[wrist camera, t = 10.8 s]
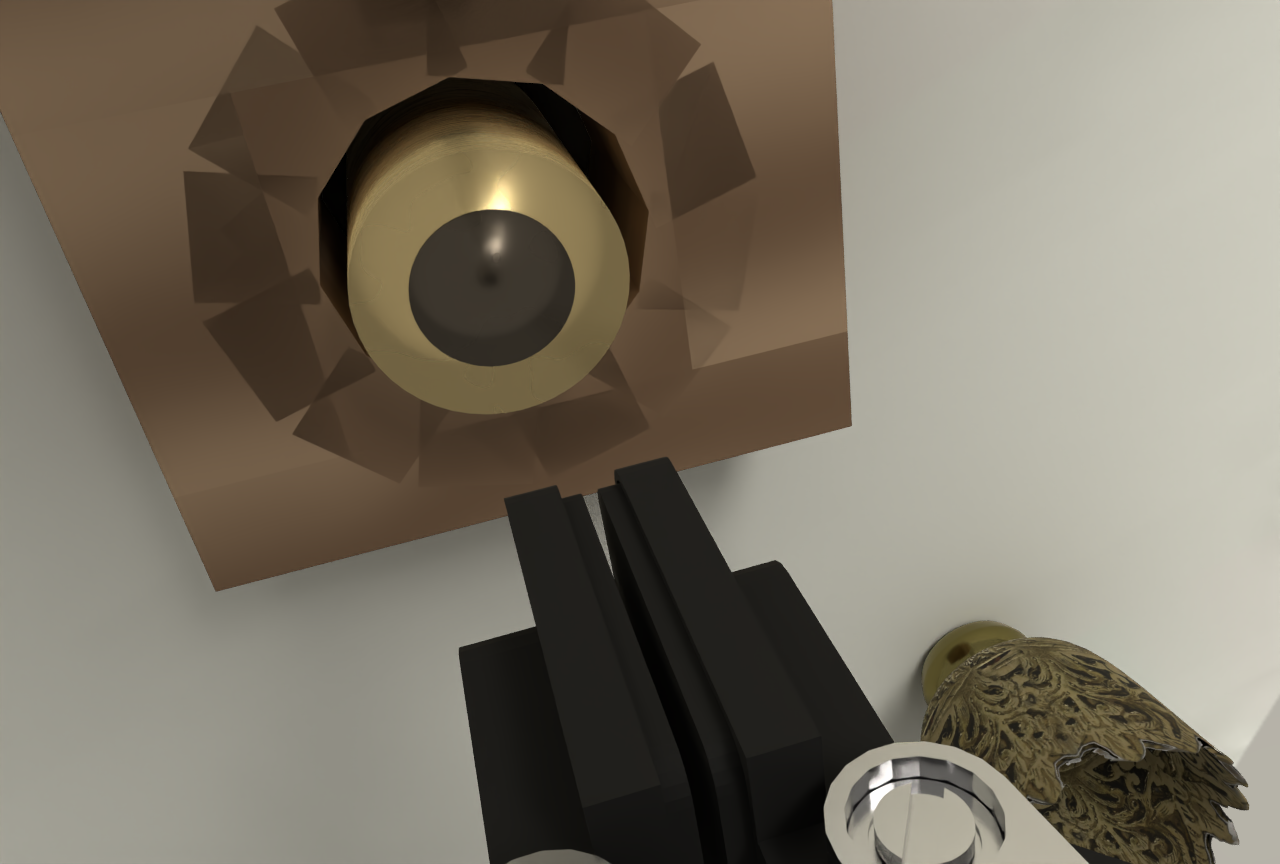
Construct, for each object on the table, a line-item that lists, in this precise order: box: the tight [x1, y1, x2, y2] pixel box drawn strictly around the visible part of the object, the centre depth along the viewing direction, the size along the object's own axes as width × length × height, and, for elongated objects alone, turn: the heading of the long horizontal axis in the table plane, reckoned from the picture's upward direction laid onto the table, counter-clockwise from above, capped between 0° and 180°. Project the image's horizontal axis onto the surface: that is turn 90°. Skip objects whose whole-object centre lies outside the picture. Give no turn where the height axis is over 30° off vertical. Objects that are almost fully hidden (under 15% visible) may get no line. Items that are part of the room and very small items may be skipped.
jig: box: [0, 0, 852, 592], centre depth 19 cm, size 18×13×6 cm
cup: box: [921, 621, 1249, 864], centre depth 31 cm, size 8×7×8 cm
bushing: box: [346, 77, 630, 414], centre depth 20 cm, size 4×4×7 cm
